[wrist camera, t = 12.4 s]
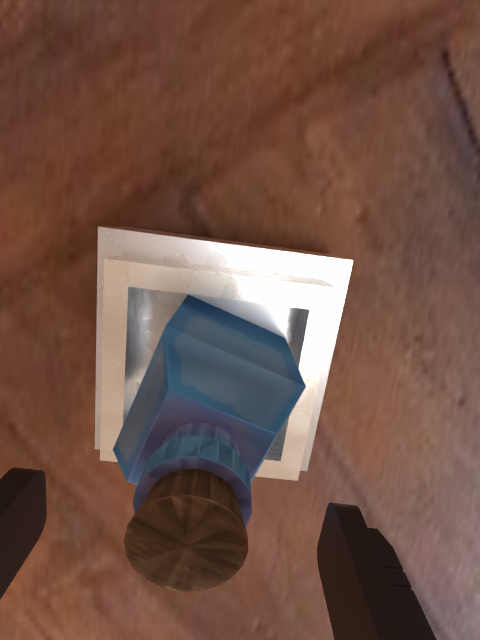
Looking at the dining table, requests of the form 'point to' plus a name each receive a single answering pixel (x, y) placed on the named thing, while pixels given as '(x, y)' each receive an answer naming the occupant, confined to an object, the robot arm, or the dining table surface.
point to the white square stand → (225, 293)
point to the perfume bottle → (202, 443)
